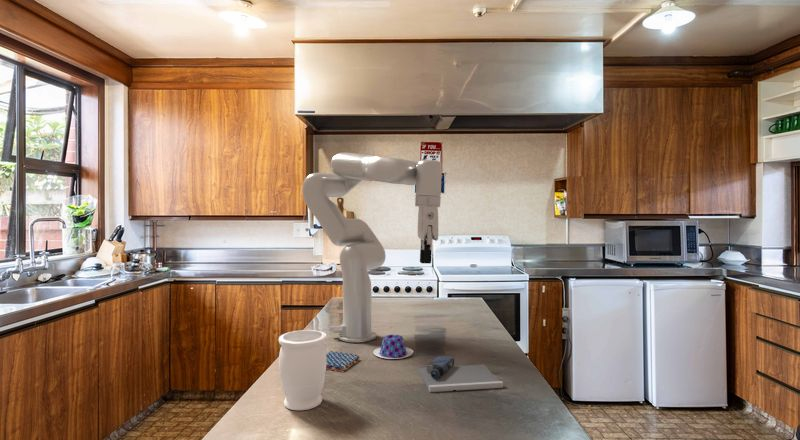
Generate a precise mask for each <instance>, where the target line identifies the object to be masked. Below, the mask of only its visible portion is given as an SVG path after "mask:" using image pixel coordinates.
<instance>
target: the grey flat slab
mask: <svg viewBox="0 0 800 440" xmlns="http://www.w3.org/2000/svg"><path fill="white" fill-rule="evenodd" d="M418 371H419V373H420V376H421V378H422V379H423V382H424V383H425V385H426V388H427V389H428V391H429V393H438V392H452V391H453V390H456V391H468V390H469V391H470V390H471V391H472V390H483V389H484V390H486V389H487V390H488V389H501V388H502V389H503V388H504V382H503V381H502V380H499V379H498V378H497V377H496V375H494V374H493V373H492V372H491V370H489V368H488V367H487V366H486V365H485V364H473V365H471V364H470V365H456V366H455V365H453V366H452V367H451V368H450V369H449V370H447V371H446V372H445V373H444V374H442V375H441V376H440V377H439V378H438V379H433V378H432V377H431V374H430V373H428V372H427V367H419V368H418ZM453 392H454V391H453Z"/></svg>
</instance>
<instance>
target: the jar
mask: <svg viewBox="0 0 800 440" xmlns="http://www.w3.org/2000/svg"><path fill="white" fill-rule="evenodd" d="M326 339H327V334H326V333H325V332H324V331H321V330H315V329H314V330H313V329H300V330H293V331H288V332H286V333H283V334H281V335H280V336H278V343H279V345H280V350H279V353H278V354H279V355H278V373H279V379H280V384H281V390H282V392H283V394H284V396H285V399H284V400H283V405H284V407H285V408H287V409H288V410H291V411H308V410H311V409H314V408H316V407H319V406H320V405H321V404H322V402H323V397H322V395H321V394H322V391H323V388H324V384H325V379H326V378H325V376H326V371H327V369H326V354H327V350H326V345H325V341H326Z"/></svg>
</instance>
